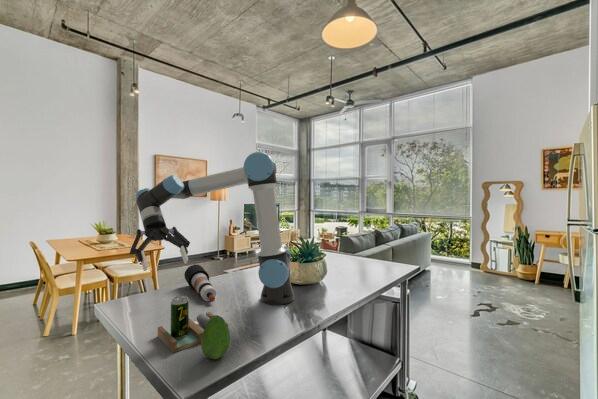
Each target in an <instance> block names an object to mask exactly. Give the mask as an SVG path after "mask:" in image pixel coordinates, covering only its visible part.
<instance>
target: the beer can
mask: <svg viewBox="0 0 598 399" xmlns="http://www.w3.org/2000/svg"><path fill="white" fill-rule="evenodd" d="M189 302H190V300H189V297H188V296H187V295H179V296H174V297H173V298H171V302H170V329H171V336H172V337H173V338H174V339H181V338H184V337H186V336H187V335H188V332H189V319H190V315H189V314H190V313H189V312H190V311H189V310H190V308H189V305H190V303H189Z"/></svg>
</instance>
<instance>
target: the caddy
mask: <svg viewBox="0 0 598 399" xmlns="http://www.w3.org/2000/svg"><path fill="white" fill-rule="evenodd" d="M205 315H206V316H207V317H209V318H211V317H212V316H215V315H216V314H215V315H214V314H213V313H211V312H210V311H208V312H206V313H205ZM225 323H226V325H227V327H228V328H229V324H228V323H227V322H226V321H225ZM204 329H205V327H203V326H202V325H201V324H199V323H198V322H197V320H196V321H194V320H192V319H190V318H189V332H188V335H187V336H186V337H184V338H181V339H174V338H173V337H172V336H171V328H170V329H167V330H166V329H165V328H164V327H163V326H158V327H157V337H158V338H159V340H160V341H161V342H162V343H163V344H164V345H165V346H166V347H167V348H168V350H170V352H171V353H173V354H174V353H177V352H179V351H180V352H181V351H183V350H185V349H188V348H191V347H193V346H196V345H198V344H201V338H202V335H203V332H204Z"/></svg>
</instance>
